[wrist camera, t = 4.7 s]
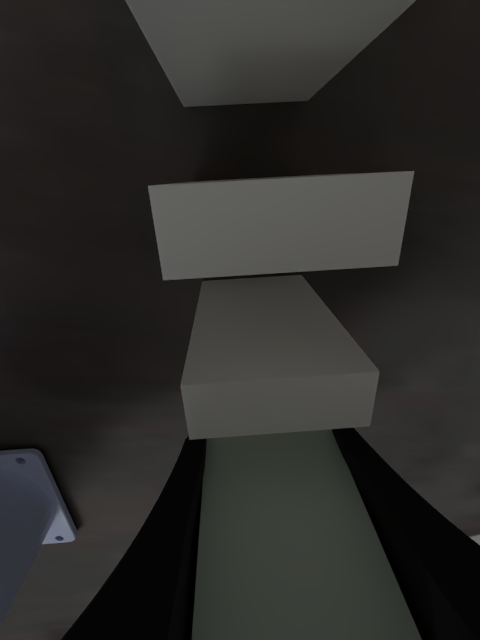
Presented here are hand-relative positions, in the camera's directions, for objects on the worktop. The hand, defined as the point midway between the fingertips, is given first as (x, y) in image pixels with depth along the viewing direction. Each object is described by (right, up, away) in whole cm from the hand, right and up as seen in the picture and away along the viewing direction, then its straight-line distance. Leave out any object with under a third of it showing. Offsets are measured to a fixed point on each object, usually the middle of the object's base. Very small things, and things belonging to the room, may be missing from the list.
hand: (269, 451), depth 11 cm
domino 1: (0, +1, +2) cm, 2 cm away
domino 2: (-1, +6, +3) cm, 7 cm away
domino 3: (-1, +9, +1) cm, 10 cm away
